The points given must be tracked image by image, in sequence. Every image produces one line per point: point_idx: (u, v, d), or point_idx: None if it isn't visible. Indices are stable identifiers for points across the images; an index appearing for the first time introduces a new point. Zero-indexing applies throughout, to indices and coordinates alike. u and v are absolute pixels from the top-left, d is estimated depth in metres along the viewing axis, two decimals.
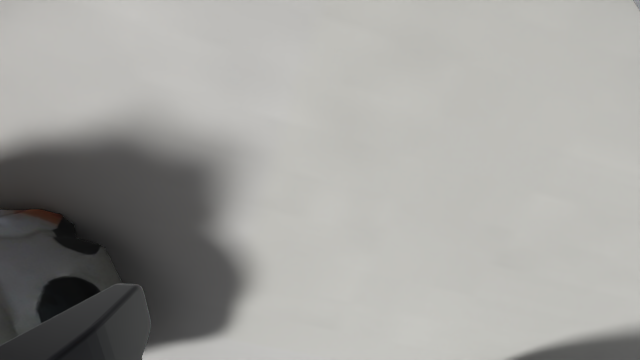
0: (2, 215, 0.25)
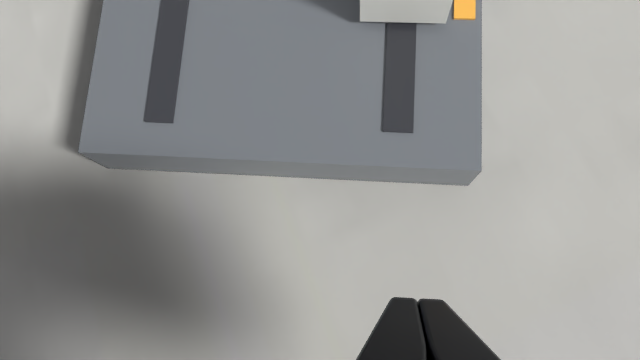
0: None
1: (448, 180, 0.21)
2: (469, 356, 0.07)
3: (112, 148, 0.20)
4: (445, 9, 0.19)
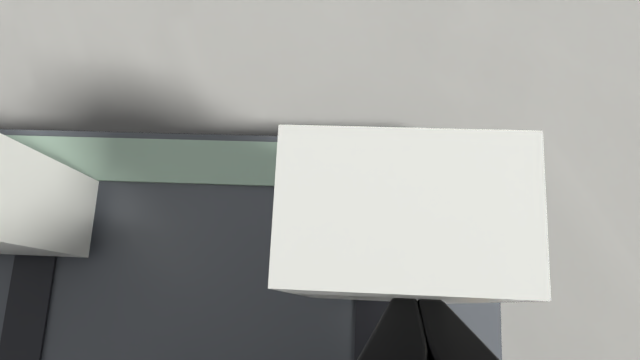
0: None
1: None
2: (467, 355, 0.07)
3: None
4: None
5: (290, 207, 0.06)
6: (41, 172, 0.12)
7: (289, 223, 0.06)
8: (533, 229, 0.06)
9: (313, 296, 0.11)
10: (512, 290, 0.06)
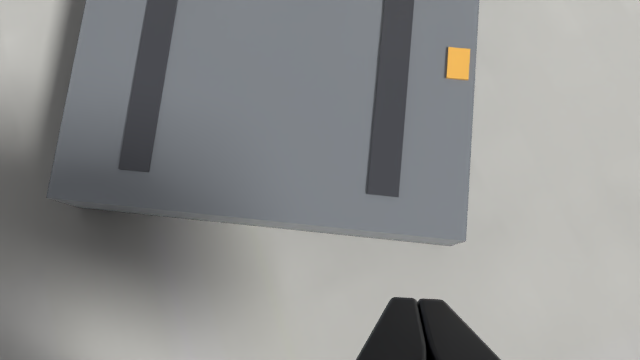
0: None
1: (431, 242, 0.21)
2: (469, 356, 0.07)
3: (83, 196, 0.19)
4: None
5: None
6: None
7: None
8: None
9: None
10: None
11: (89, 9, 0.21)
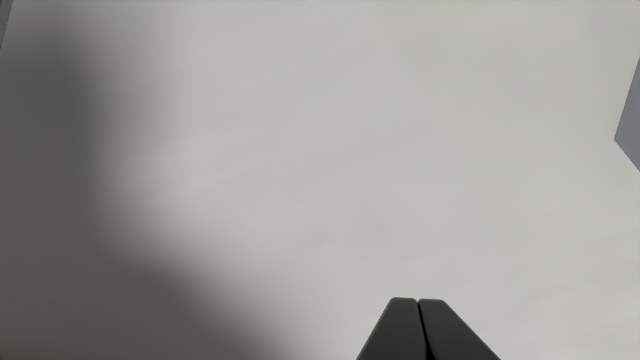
0: None
1: (628, 128, 0.20)
2: (469, 356, 0.07)
3: None
4: None
5: None
6: None
7: None
8: None
9: None
10: None
11: None
